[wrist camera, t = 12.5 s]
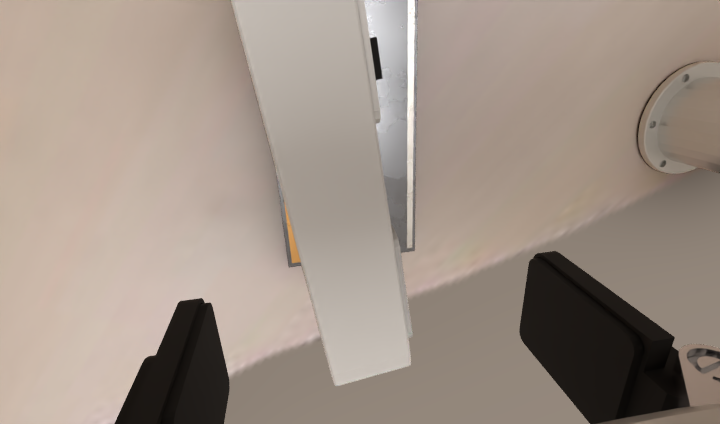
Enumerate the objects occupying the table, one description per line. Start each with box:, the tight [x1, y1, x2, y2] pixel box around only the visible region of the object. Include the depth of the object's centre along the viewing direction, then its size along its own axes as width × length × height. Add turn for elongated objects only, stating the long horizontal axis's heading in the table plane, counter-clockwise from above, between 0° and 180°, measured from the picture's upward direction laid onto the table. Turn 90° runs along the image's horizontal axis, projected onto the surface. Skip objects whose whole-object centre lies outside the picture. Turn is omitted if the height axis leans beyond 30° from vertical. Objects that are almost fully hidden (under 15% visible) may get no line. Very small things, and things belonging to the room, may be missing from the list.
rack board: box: [276, 0, 418, 267], centre depth 38 cm, size 14×26×1 cm, turn 3°
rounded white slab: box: [230, 0, 413, 386], centre depth 29 cm, size 29×8×18 cm, turn 10°
